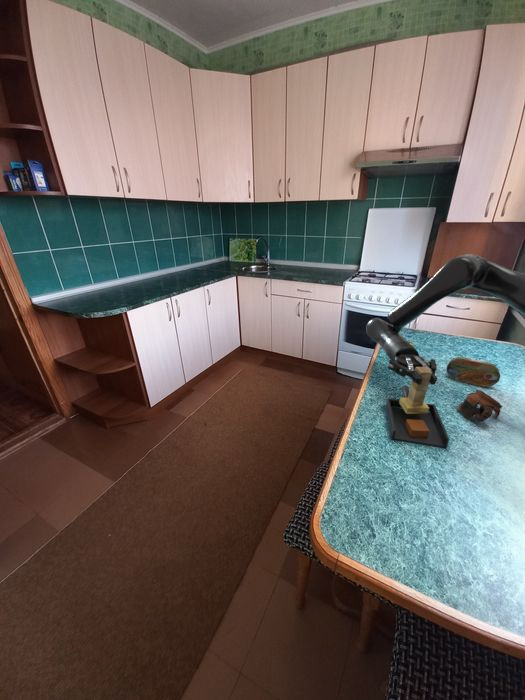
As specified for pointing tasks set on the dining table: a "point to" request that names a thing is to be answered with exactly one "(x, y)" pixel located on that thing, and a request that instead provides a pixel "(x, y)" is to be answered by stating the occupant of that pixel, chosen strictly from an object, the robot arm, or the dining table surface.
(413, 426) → the brown square block
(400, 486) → the dining table surface
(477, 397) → the pottery mug
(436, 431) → the pan
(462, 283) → the robot arm
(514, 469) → the dining table surface
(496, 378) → the tin
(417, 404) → the pillar on square base
